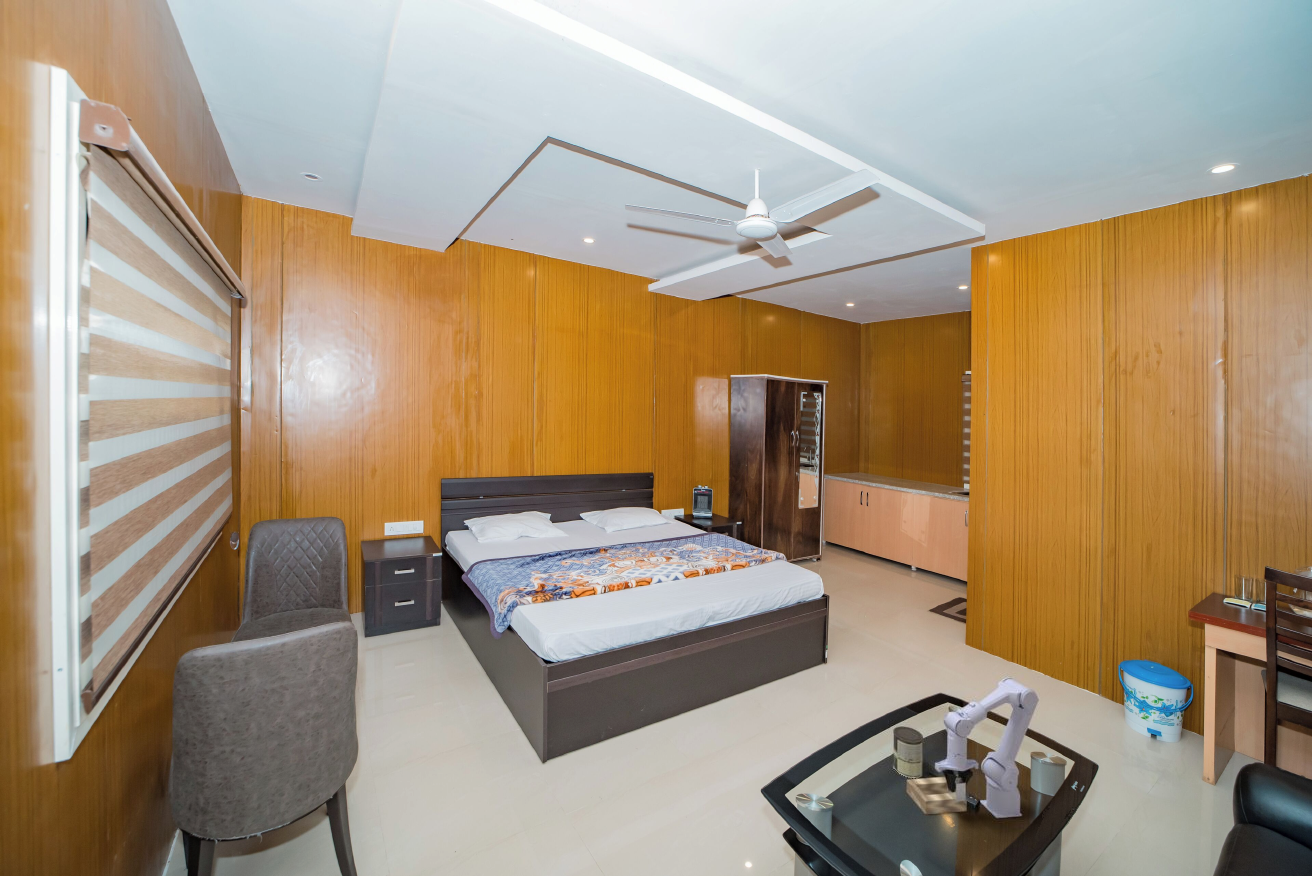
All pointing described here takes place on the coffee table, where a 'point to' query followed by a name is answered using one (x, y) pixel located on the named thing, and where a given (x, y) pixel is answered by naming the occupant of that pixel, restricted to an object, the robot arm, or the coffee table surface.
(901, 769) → the coffee can
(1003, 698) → the robot arm
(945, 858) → the coffee table surface
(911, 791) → the tan wooden rectangular frame
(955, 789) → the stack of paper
